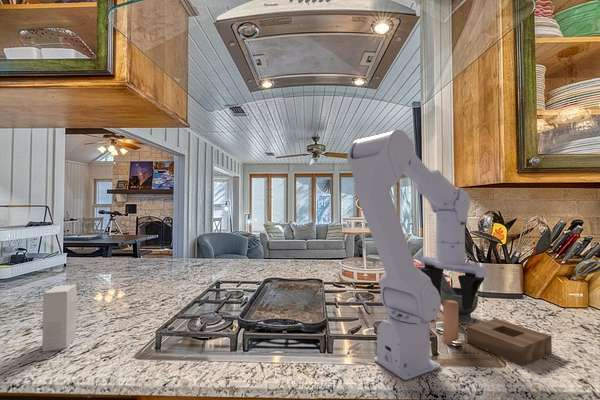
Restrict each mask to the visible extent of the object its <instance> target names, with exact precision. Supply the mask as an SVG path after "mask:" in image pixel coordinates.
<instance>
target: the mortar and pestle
mask: <svg viewBox="0 0 600 400" xmlns="http://www.w3.org/2000/svg"><path fill="white" fill-rule="evenodd" d="M440 298H441V306H442V307H443V301H444V300H452V301H456V302H458V322H459V321H460V322H468V321H471V319H472V315H471V314H472V313H474V312H475V310H476V309H477V307H478V303H479V293H478V291H477V292H476V295H475V298H474V301H473V305H472V309H468V310H465V309H463V307H462V292H461V287H454V286H451V284H450V282H449V281H448V280H447V278H446V277H445V275H444V273H443V274H442V279H441V295H440Z"/></svg>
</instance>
